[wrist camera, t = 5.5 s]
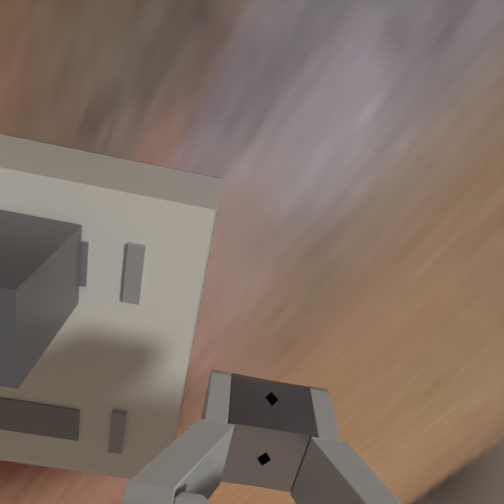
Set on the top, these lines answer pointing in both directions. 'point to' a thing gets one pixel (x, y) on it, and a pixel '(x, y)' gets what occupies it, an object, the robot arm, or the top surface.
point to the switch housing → (110, 307)
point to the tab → (34, 288)
